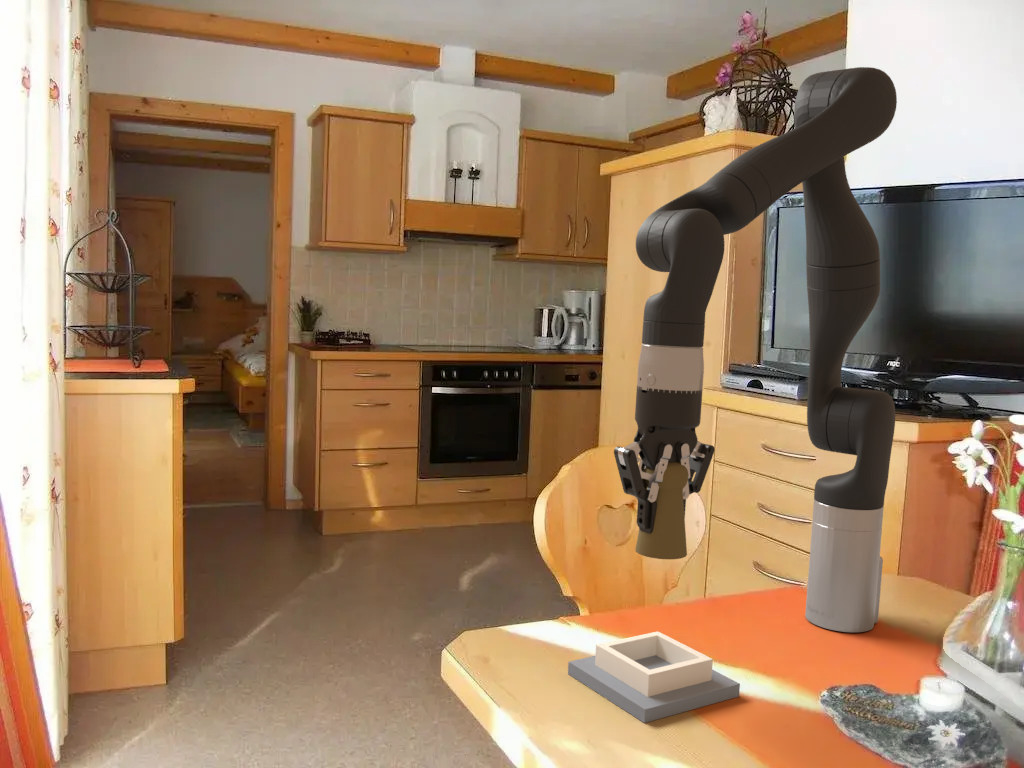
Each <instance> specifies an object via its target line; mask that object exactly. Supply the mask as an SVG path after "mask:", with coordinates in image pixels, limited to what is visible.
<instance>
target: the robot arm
mask: <svg viewBox="0 0 1024 768" xmlns="http://www.w3.org/2000/svg"><path fill="white" fill-rule="evenodd" d="M897 95H898V94H897V90H896V87H895V84H894V82H893V80H892V78H891V77H890V76H889V75H888V74H887V73H886V72H885V71H884V70H882V69H879V68H876V67H868V66H865V67H864V66H861V67H859V66H858V67H850V68H843V69H834V70H827V71H821V72H816V73H813V74H810V75H809V76H807V77H806V78H805V79H804V80H803V81H802V83H801V84H800V86H799V88H798V90H797V93H796V96H795V100H794V101H795V102H794V111H793V115H794V116H793V119H794V129H791V130H788V131H787V132H785V133H782V134H780V135H778V136H776V137H774V138H771V139H769V140H767V141H764V142H763V143H760V144H758V145H757V146H754V147H753V148H752V147H751V148H750V149H748V150H746V151H745V152H743V153H742V154H740V155H739V156H737V157H736V158H735V159H733V160H732V161H731V162H730V163H728V164H727V165H725V166H724V167H723V168H722V169H720V170H719V171H718V172H716V173H715V174H713V176H711V177H710V178H709V179H708V180H707V181H706V182H705V183H703V184H701V185H699V186H698V187H696V188H694V189H691V190H689V191H688V192H685V193H684V194H682V195H680V196H679V197H677V198H675V199H673V200H670V201H669V202H667V203H665V204H663V205H662V206H660V207H659V208H657V209H656V210H655V211H653V212H652V213H651V214H650V215H649V216H647V217H646V219H645V220H644V221H643V222H642V224H641V225H640V227H639V229H638V231H637V234H636V238H635V251H636V254H637V257H638V259H639V261H641V263H642V264H643V265H644V266H645V267H647V268H648V269H650V270H652V271H656V272H659V273H660V272H661V273H668V275H667V278H666V282H665V285H664V288H663V289H662V290H661V291H660V292H658V293H654V294H652V295H651V296H649V297H648V298H647V300H646V302H645V304H644V308H643V319H642V332H641V333H642V334H641V335H642V336H641V343H642V344H641V348H640V353H639V357H638V358H639V359H638V364H637V365H638V367H637V380H636V394H635V396H636V397H635V412H634V420H635V422H636V425H637V431H636V433H635V436H634V438H633V442H631V443H630V444H627V445H625V446H624V447H623V446H620V445H619V446H615V447H614V450H613V455H614V460H615V463H616V467H617V470H618V475H619V478H620V481H621V486H622V489H623V490H622V491H623V492H624V494H626V495H630V496H632V497H635V498H636V501H637V509H636V510H637V513H636V525H637V527H638V530H639V529H640V531H642V532H645V533H648V534H650V533H652V532H653V528H654V522H655V516H656V510H657V502H654V501H655V500H656V498H657V494H658V490H659V486H658V484H659V483H661V482H662V481H663V475H664V472H665V470H666V468H667V464H668V463H671V462H678V463H680V464H681V465H684V466H685V467H686V468H687V470H688V474H689V475H688V481H687V484H686V486H685V487H684V488H683V503H684V518H685V519H686V516H685V515H686V507H687V506H686V504H687V499H688V498H689V496H690V495H692V494H694V493H696V494H698V493H700V491H701V490H702V487H703V483H704V481H705V478H706V476H707V473H708V470H709V467H710V465H711V462H712V459H713V457H714V453H715V446H714V445H712V444H708V443H703V442H702V441H701V442H700V441H699V440H698V439H699V438H698V436H697V432H696V428H698V427H699V426H700V424H701V420H702V419H701V418H702V417H701V416H702V405H703V404H702V403H703V402H702V401H703V390H704V389H703V387H704V376H705V375H704V374H705V361H704V343H705V327H706V312H707V309H708V306H709V304H710V300H711V299H712V298H711V297H712V295H713V292H714V289H715V286H716V282H717V279H718V276H719V274H720V269H721V266H722V264H723V259H724V255H725V235H729V234H733V233H736V232H738V231H740V230H742V229H744V228H746V226H748V225H749V224H751V222H753V221H754V220H755V219H757V218H758V217H760V215H761V214H763V213H764V212H765V211H767V210H768V209H769V208H770V207H771V206H772V205H773V204H775V203H776V202H777V201H778V200H779V199H781V198H782V197H783V196H785V195H786V194H787V193H789V192H790V191H792V190H793V189H794V188H796V187H797V186H800V184H802V194H803V207H804V224H805V242H806V244H805V246H806V247H805V249H806V252H805V253H806V255H805V260H806V261H805V262H806V264H805V267H806V271H805V273H806V289H807V290H806V291H807V300H808V301H807V304H808V319H809V320H808V321H809V323H808V324H809V327H808V328H809V367H808V383H807V385H808V386H807V399H806V400H807V405H806V407H807V408H806V423H807V425H806V426H807V433H808V436H809V440H810V442H811V444H812V445H813V446H814V447H815V448H817V449H819V450H823V451H826V452H833V453H838V454H845V455H851V456H856V460H855V464H854V467H853V468H852V469H850V470H848V471H846V472H843V473H838V474H833V475H826V476H823V477H819V478H818V479H817V480H816V482H815V484H814V491H813V493H814V494H813V495H814V496H813V505H812V506H813V508H812V519H811V535H810V549H809V550H810V551H809V561H808V572H807V575H808V577H807V589H806V598H805V599H806V601H805V613H804V614H805V615H804V617H805V619H806V620H807V621H808V622H810V623H812V624H813V625H815V626H818V627H820V628H822V629H827V630H830V631H837V632H843V633H863V632H864V633H865V632H868V631H871V630H872V629H873V628H875V626H874V625H875V624H876V623H879V614H880V611H879V610H880V603H881V601H880V599H881V590H882V589H881V588H882V587H881V586H882V579H883V578H882V575H883V563H884V559H883V557H882V556H881V547H882V546H881V545H882V544H881V543H882V534H883V533H882V532H883V522H884V521H883V519H884V508H885V507H884V506H885V498H886V497H885V496H886V492H887V487H888V480H889V472H890V464H891V454H892V449H893V441H894V436H895V427H896V406H895V403H894V400H893V398H892V396H891V395H890V394H889V393H888V392H885V391H882V390H875V389H874V390H873V389H868V388H867V389H866V388H865V389H863V388H856V387H847V386H846V387H845V386H843V385H842V370H843V369H842V368H843V367H842V366H843V362H844V358H845V356H846V353H847V351H848V349H849V347H850V344H851V343H852V341H853V340H854V338H855V337H856V336H857V334H858V332H859V331H860V330H861V328H862V327H863V326H864V324H865V322H866V321H867V320H868V318H869V316H870V315H871V313H872V311H873V310H874V308H875V306H876V304H877V301H878V299H879V297H880V293H881V258H880V256H881V255H880V254H881V253H880V246H879V242H878V238H877V235H876V233H875V231H874V229H873V227H872V225H871V222H869V220H868V218H867V216H866V215H865V212H864V211H863V209H862V208H861V206H860V205H859V203H858V201H857V200H856V197H855V196H854V194H853V192H852V190H851V187H850V184H849V179H848V178H847V171H846V163H845V157H846V156H847V155H849V154H851V153H852V152H854V151H856V150H859V149H860V148H862V147H865V146H866V145H868V144H869V143H872V142H873V141H875V140H877V139H878V138H879V137H881V136H882V135H883V134H884V133H885V132H886V130H888V128H889V127H890V126H891V124H892V122H893V120H894V117H895V116H896V115H895V113H896V111H897V103H898V102H897V99H898V98H897ZM645 467H646V468H647V469H651V470H655V472H654V473H653V474H649V473H646V472H645ZM646 479H647V480H649V486H647V484H646ZM647 487H648V490H647Z"/></svg>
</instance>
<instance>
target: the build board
mask: <svg viewBox="0 0 1024 768" xmlns="http://www.w3.org/2000/svg"><path fill="white" fill-rule="evenodd" d="M713 662H714V660H713V658H711V657H709V656H707V655H705V654H704V653H702V652H700V651H697V650H696V649H694V648H692V647H690V646H688V645H686V644H684V643H682V642H679V641H678V640H676V639H673V638H672V637H671V636H668V635H666V634H664V633H661V632H660V631H653V632H648V633H644V634H639V635H635V636H631V637H626V638H621V639H616V640H611V641H606V642H601V643H598V644H595V655H593V656H592V655H591V656H588V657H584V658H579V659H574V660H570V661H568V662H567V675H569V676H571V677H572V678H573V679H576V680H577V681H579V682H580V683H581V684H582V685H584V686H586V687H587V688H590V690H592V691H594V692H596V693H597V694H598V695H600V696H601V697H603V698H605V699H606V700H608V701H609V702H611V703H612V704H614V705H615V706H617V707H618V708H620V709H621V710H623V711H625V712H627V713H628V714H629V715H631V716H633V717H634V718H636V719H637V720H639V721H641V723H644V724H645V723H646V724H647V723H650V722H653V721H657V720H660V719H664V718H667V717H671V716H674V715H678V714H682V713H685V712H688V711H692V710H695V709H699V708H703V707H706V706H710V705H714V704H716V703H721V702H725V701H728V700H731V699H735V698H738V697H740V688H741V683H739V682H737V681H736V680H734V679H732V678H729V677H727V676H726V675H724V674H722V673H720V672H718V671H716V670H714V669H713Z"/></svg>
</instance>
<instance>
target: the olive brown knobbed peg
mask: <svg viewBox="0 0 1024 768" xmlns="http://www.w3.org/2000/svg"><path fill="white" fill-rule="evenodd" d="M645 472H646V473H649V474H653V473H654V472H655V470H651V469H647V468H646V467H645ZM688 475H689V474H688V470H687V468H686V467H685V466H684V465H681V464H680V463H678V462H671V463H668V464H667V468H666V470H665V472H664V475H663V481H662V482H661V483H659V484H658V486H659V490H658V494H657V498H656V500H655V501H654V502H657V510H656V516H655V522H654V528H653V532H652V533H650V534H648V533H645V532H642V531H640V529H639V528H638V533H637V539H636V544H635V549H634V550H635V551H634V552H635V553H637V554H638V555H640V556H642V557H643V556H644V557H646V558H651V559H657V560H680V559H683V558H685V557H687V556H688V551H687V550H688V549H687V536H686V534H687V533H686V521H685V519H686V517H685V518H684V503H683V488H684V487H685V486H686V484H687V481H688ZM646 484H647V486H649V480H647V479H646ZM647 490H648V487H647Z"/></svg>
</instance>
